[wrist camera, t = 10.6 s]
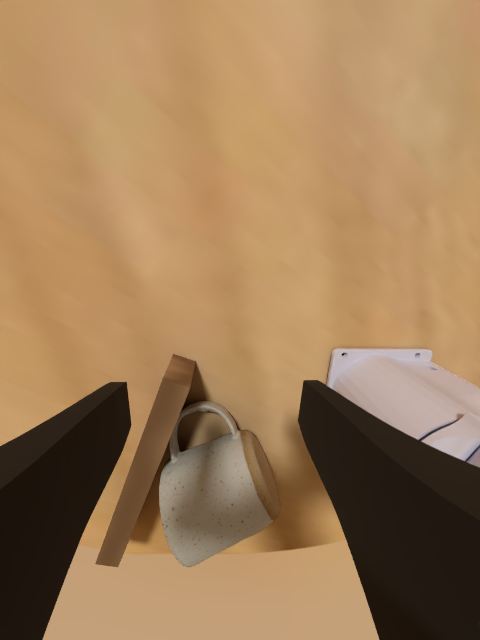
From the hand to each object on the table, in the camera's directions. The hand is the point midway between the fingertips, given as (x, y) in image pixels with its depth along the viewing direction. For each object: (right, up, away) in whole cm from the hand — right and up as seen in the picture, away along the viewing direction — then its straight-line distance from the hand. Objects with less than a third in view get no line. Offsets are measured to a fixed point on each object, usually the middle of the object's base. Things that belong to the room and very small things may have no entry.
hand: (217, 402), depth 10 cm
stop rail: (-8, -9, +13) cm, 17 cm away
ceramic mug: (-2, -9, +14) cm, 16 cm away
